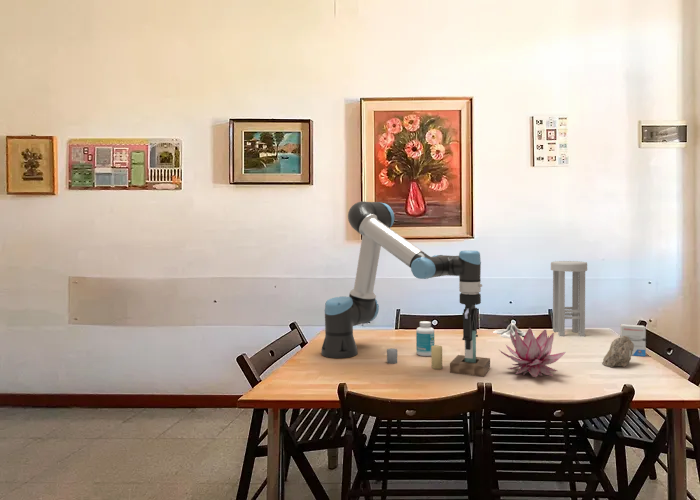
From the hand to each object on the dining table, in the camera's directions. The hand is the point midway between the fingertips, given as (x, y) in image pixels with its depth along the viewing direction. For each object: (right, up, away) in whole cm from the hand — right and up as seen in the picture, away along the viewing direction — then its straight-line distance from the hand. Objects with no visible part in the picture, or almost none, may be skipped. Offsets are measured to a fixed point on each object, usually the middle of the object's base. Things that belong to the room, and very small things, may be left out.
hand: (470, 356), depth 172 cm
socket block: (0, -5, 0) cm, 5 cm away
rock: (+57, -4, +4) cm, 57 cm away
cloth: (+36, -3, +58) cm, 68 cm away
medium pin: (-11, -5, +4) cm, 13 cm away
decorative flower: (+21, -5, -5) cm, 22 cm away
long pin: (0, -5, 0) cm, 5 cm away
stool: (+62, -2, +57) cm, 84 cm away
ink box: (+70, -4, +18) cm, 73 cm away
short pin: (-28, -5, +12) cm, 31 cm away
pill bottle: (-13, -5, +23) cm, 26 cm away
